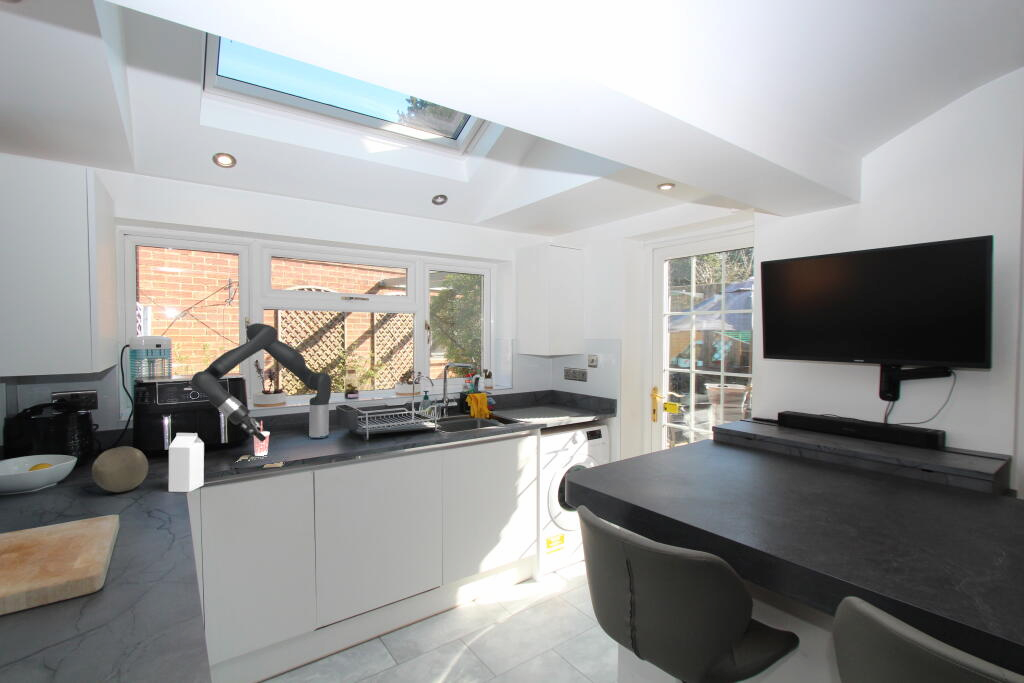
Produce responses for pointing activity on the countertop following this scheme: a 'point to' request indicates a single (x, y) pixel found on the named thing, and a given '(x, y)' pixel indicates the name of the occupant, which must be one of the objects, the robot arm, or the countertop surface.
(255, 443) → the beverage cup
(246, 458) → the oak board
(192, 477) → the milk carton
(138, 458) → the cantaloupe
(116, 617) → the countertop surface
